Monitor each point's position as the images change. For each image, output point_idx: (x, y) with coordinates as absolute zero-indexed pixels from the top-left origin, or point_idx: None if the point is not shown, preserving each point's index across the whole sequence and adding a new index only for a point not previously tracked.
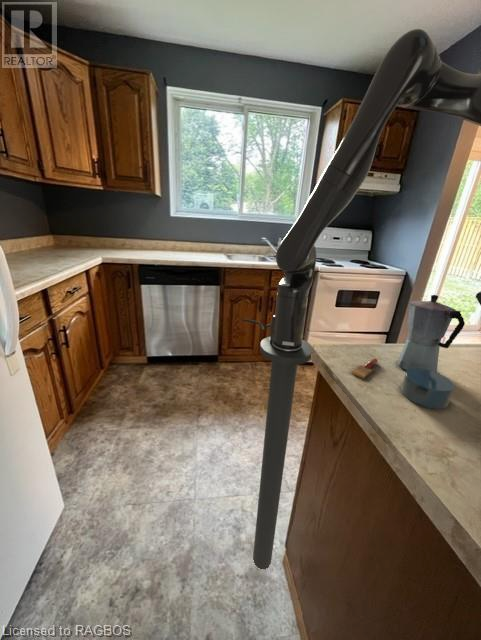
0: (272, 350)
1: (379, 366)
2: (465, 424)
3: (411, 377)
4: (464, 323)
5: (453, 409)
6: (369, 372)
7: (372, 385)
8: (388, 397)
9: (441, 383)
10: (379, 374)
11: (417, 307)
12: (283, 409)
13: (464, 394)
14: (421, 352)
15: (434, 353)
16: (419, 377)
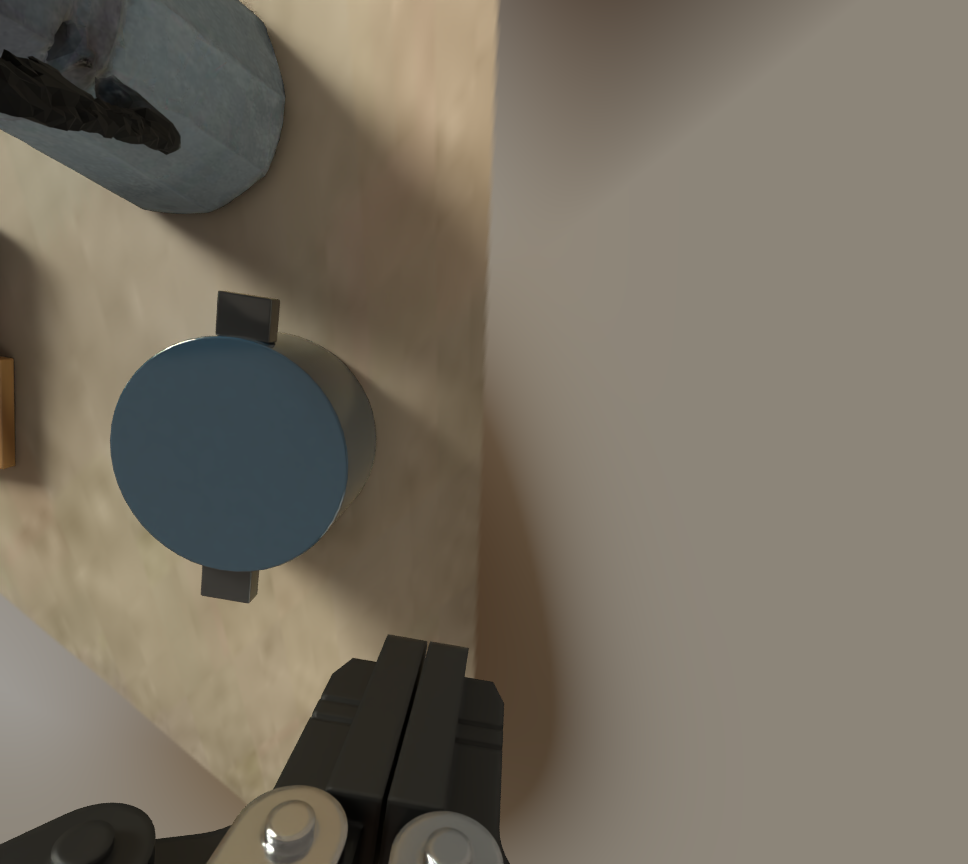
0: None
1: (16, 249)
2: (445, 551)
3: (152, 511)
4: (6, 101)
5: (400, 462)
6: (4, 399)
7: (71, 499)
8: (160, 555)
9: (288, 472)
10: (53, 356)
11: None
12: None
13: (440, 261)
14: (86, 153)
15: (161, 103)
16: (184, 482)
